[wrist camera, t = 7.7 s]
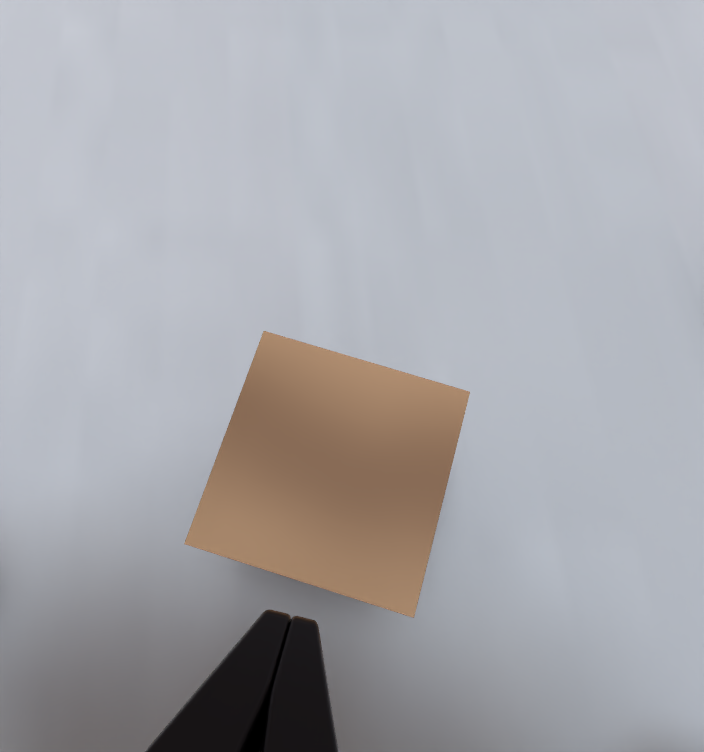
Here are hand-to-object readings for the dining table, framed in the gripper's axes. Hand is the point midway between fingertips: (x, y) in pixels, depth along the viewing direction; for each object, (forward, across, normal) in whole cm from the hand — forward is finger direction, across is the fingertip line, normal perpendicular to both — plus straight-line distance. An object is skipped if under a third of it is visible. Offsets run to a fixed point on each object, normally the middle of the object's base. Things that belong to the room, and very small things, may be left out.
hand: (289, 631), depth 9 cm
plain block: (+10, 0, +5) cm, 11 cm away
